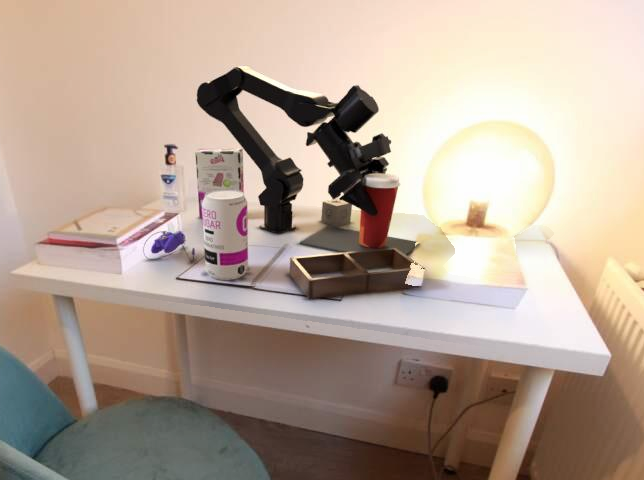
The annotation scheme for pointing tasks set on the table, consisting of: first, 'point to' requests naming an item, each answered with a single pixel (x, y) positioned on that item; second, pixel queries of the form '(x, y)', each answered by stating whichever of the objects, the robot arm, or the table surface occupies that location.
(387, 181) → the paper cup
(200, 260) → the table surface
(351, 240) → the desk mat
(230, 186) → the candy bar box
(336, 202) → the dice cube
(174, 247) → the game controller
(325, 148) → the robot arm
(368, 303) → the table surface
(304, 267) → the divided tray
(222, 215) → the supplement can
